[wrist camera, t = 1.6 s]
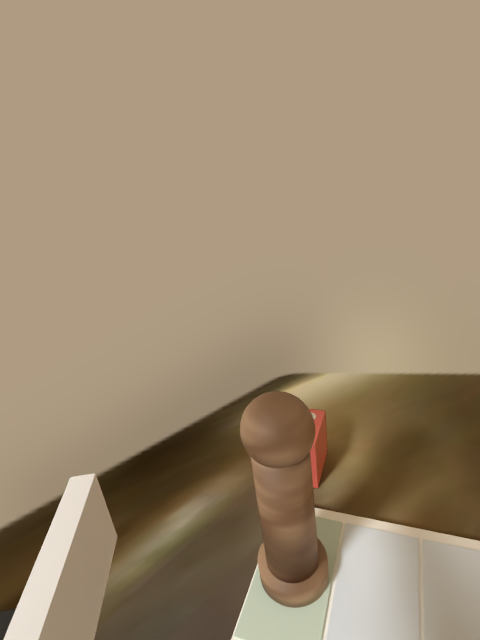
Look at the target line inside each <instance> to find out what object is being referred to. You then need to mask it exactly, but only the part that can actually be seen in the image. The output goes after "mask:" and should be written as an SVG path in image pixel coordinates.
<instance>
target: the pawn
mask: <svg viewBox="0 0 480 640" xmlns="http://www.w3.org/2000/svg"><path fill="white" fill-rule="evenodd" d="M240 437H241V441H242V444H243V446H244V448H245V450H246V451H247V453H248V454H249V456H250V457H251V463H252V470H253V477H254V483H255V490H256V496H257V503H258V509H259V516H260V522H261V529H262V536H263V543H262V545H261V547H260V549H259V553H258V567H259V573H260V579H261V583H262V586H263V588H264V590H265V592H266V593H267V594H268V596H269V597H270V598H271V599H272V600H274V601H275V602H277V603H279V604H280V605H283V606H286V607H292V608H299V607H304V606H307V605H310V604H312V603H314V602H315V601H317V600H318V599H319V598H320V597H321V596H322V594H323V593H324V591H325V589H326V587H327V584H328V578H329V572H328V558H327V553H326V550H325V548H324V546H323V544H322V542H321V541H320V540H319V539H318V538H317V531H316V518H315V506H314V493H313V481H312V468H311V455H310V450H311V448H312V446H313V443H314V439H315V423H314V419H313V416H312V414H311V412H310V410H309V409H308V407H307V406H306V405H305V404H304V403H303V402H302V401H301V400H300V399H299V398H297V397H296V396H294V395H292V394H289V393H286V392H280V391H274V392H268V393H264V394H262V395H260V396H258V397H257V398H255V399H254V400H253V401H252V402H251V403H250V404H249V405H248V406H247V408H246V409H245V411H244V413H243V415H242V418H241V422H240Z"/></svg>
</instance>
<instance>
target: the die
mask: <svg viewBox="0 0 480 640" xmlns="http://www.w3.org/2000/svg"><path fill="white" fill-rule="evenodd" d="M309 410H310V412H311V414H312V416H313V419H314V423H315V439H314V443H313V446H312V448H311V450H310V455H311V468H312V481H313V487H314V488H318V486H319V482H320V479H321V475H322V471H323V467H324V463H325V459H326V455H327V452H328V449H327V432H326V415H325V411H323V410H315V409H309Z"/></svg>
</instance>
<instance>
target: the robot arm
mask: <svg viewBox="0 0 480 640" xmlns="http://www.w3.org/2000/svg"><path fill="white" fill-rule="evenodd" d="M116 541H117V534H116V531H115V528H114V525H113V522H112V519H111V517H110V514H109V511H108V508H107V505H106V502H105V499H104V497H103V494H102V491H101V488H100V485H99V482H98V479H97V477H96V474H95V473H94V474H88V475H81V476H76V477H71V478H70V480H69V482H68V485H67V487H66V489H65V492H64V494H63V497H62V499H61V502H60V504H59V506H58V509H57V511H56V514H55V516H54V518H53V521H52V523H51V526H50V528H49V531H48V533H47V535H46V538H45V540H44V543H43V545H42V547H41V550H40V552H39V555H38V557H37V560H36V562H35V564H34V567H33V569H32V572H31V574H30V576H29V579H28V581H27V584H26V586H25V589H24V591H23V593H22V596H21V598H20V601H19V603H18V605H17V608H16V609H12V610H6V611H0V640H94V637H95V633H96V628H97V624H98V620H99V615H100V611H101V607H102V602H103V598H104V593H105V589H106V585H107V580H108V576H109V572H110V567H111V563H112V559H113V554H114V550H115V546H116Z"/></svg>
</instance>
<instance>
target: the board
mask: <svg viewBox="0 0 480 640" xmlns="http://www.w3.org/2000/svg"><path fill="white" fill-rule="evenodd" d="M315 518H316V531H317V538H318V539H319V540H320V541H321V542H322V544H323V546H324V548H325V550H326V553H327V558H328V572H329V578H328V584H327V587H326V589H325V591H324V593H323V594H322V596H321V597H320V598H319V599H318V600H317V601H315V602H314V603H312V604H310V605H307V606H304V607H299V608H292V607H286V606H283V605H280V604H279V603H277V602H275V601H274V600H272V599H271V598H270V597H269V596H268V594H267V593H266V592H265V590H264V588H263V586H262V583H261V579H260V573H259V567H258V564H257V567H256V570H255V573H254V576H253V579H252V581H251V584H250V587H249V590H248V593H247V596H246V599H245V601H244V604H243V607H242V610H241V613H240V616H239V619H238V621H237V624H236V627H235V630H234V633H233V636H232V639H231V640H480V541H477V540H472V539H467V538H462V537H457V536H452V535H448V534H443V533H438V532H433V531H428V530H423V529H418V528H413V527H408V526H403V525H398V524H393V523H388V522H383V521H378V520H373V519H369V518H364V517H359V516H354V515H349V514H344V513H339V512H334V511H329V510H324V509H319V508H315Z"/></svg>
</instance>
